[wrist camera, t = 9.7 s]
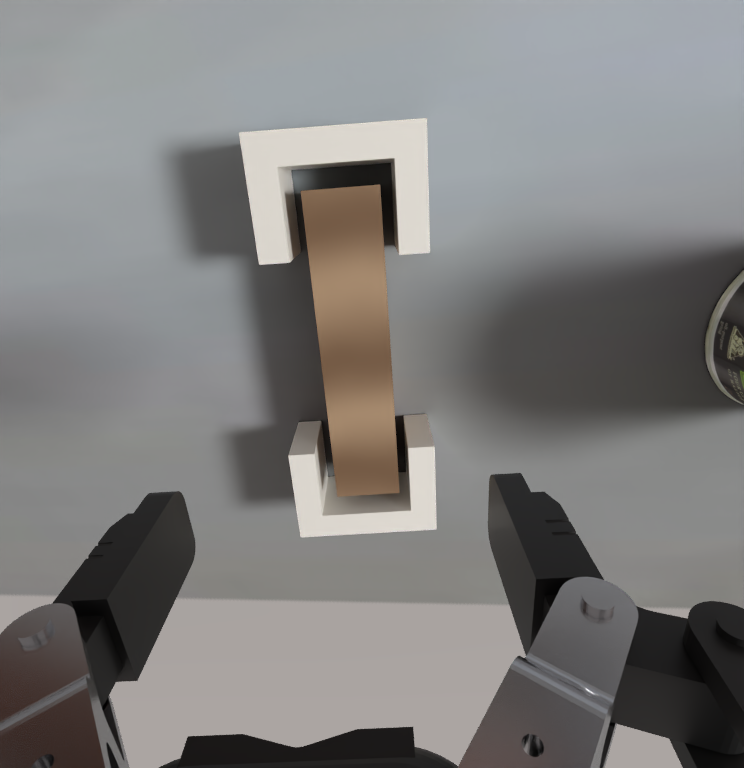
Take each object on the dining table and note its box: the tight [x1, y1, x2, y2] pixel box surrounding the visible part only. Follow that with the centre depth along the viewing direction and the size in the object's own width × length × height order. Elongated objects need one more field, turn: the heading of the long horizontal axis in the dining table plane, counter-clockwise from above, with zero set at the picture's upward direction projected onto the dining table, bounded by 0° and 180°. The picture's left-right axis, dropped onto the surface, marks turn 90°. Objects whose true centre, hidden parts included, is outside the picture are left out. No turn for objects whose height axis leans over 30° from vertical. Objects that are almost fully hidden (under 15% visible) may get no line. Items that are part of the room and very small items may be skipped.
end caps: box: [239, 118, 437, 537], centre depth 26 cm, size 21×8×4 cm, turn 4°
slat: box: [301, 185, 400, 497], centre depth 26 cm, size 16×4×4 cm, turn 4°
